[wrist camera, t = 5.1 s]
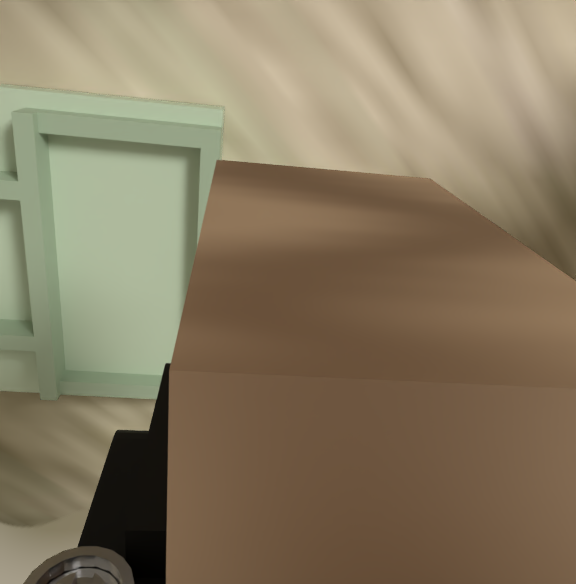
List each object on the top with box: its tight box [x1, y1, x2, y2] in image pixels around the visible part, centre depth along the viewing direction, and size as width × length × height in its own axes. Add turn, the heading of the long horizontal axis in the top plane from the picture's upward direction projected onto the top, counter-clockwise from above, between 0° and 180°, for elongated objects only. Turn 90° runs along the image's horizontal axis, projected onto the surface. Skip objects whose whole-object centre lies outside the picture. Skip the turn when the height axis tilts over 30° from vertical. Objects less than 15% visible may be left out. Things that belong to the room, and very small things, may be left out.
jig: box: [0, 84, 224, 400], centre depth 25 cm, size 15×15×3 cm
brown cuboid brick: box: [166, 160, 576, 584], centre depth 9 cm, size 4×10×7 cm, turn 174°
